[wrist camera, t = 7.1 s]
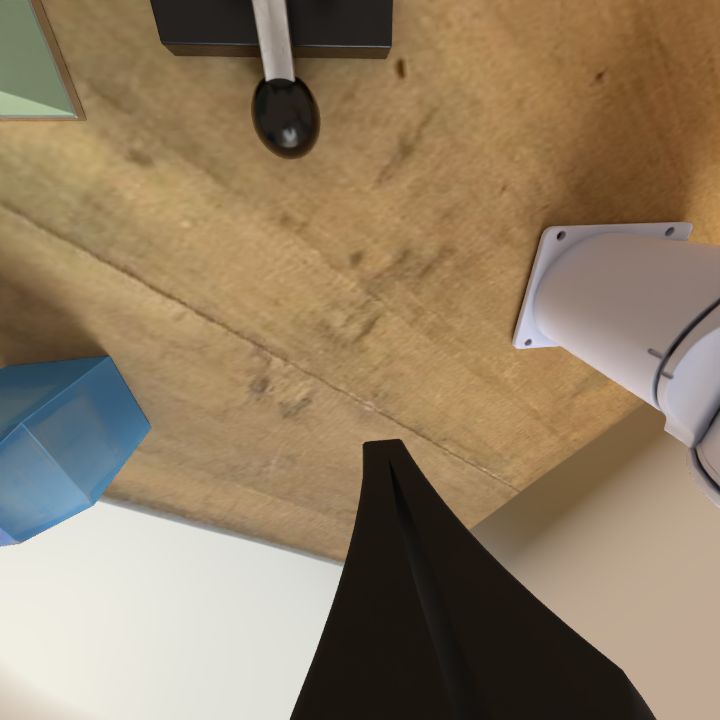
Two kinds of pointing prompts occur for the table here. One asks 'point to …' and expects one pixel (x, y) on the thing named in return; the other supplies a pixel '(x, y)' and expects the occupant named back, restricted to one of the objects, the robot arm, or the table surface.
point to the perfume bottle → (61, 440)
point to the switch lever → (281, 88)
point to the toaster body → (33, 67)
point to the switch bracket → (307, 23)
